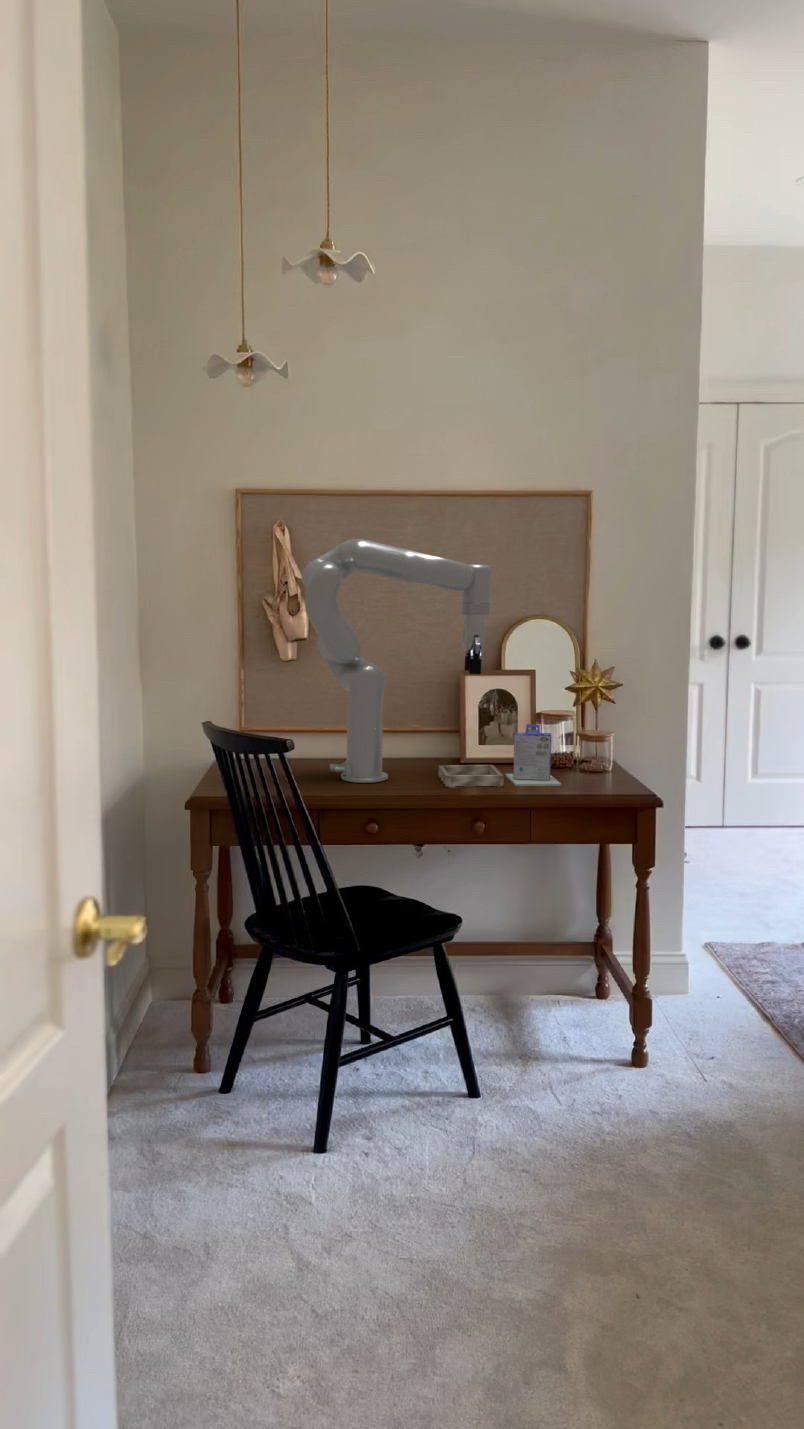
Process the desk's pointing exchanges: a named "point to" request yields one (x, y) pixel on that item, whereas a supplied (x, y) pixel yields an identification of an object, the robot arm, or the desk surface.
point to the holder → (470, 775)
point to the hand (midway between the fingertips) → (472, 672)
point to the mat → (533, 781)
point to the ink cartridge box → (532, 754)
